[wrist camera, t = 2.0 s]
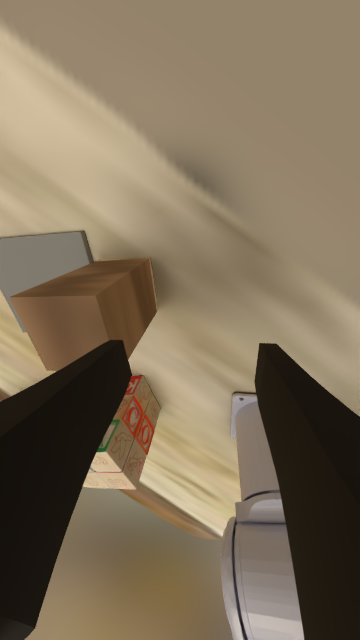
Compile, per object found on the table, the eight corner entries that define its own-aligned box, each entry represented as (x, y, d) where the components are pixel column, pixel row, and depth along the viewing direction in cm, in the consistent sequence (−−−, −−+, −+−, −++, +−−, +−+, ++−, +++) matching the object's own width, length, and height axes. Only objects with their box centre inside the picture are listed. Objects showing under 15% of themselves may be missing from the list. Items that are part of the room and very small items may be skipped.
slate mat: (84, 231, 17) (80, 231, 17) (112, 330, 22) (110, 333, 21) (-19, 239, 19) (-26, 240, 19) (27, 329, 24) (23, 332, 23)
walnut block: (150, 257, 17) (95, 295, 10) (158, 309, 20) (119, 374, 12) (97, 260, 18) (8, 297, 10) (111, 309, 21) (46, 370, 13)
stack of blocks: (143, 372, 24) (85, 498, 14) (162, 407, 27) (125, 536, 16) (20, 391, 31) (-85, 488, 20) (45, 418, 33) (-37, 517, 22)
